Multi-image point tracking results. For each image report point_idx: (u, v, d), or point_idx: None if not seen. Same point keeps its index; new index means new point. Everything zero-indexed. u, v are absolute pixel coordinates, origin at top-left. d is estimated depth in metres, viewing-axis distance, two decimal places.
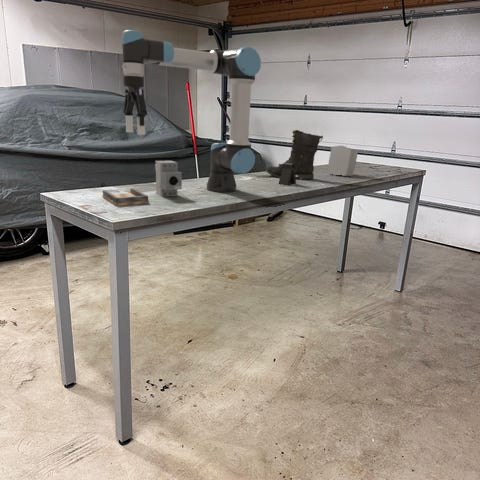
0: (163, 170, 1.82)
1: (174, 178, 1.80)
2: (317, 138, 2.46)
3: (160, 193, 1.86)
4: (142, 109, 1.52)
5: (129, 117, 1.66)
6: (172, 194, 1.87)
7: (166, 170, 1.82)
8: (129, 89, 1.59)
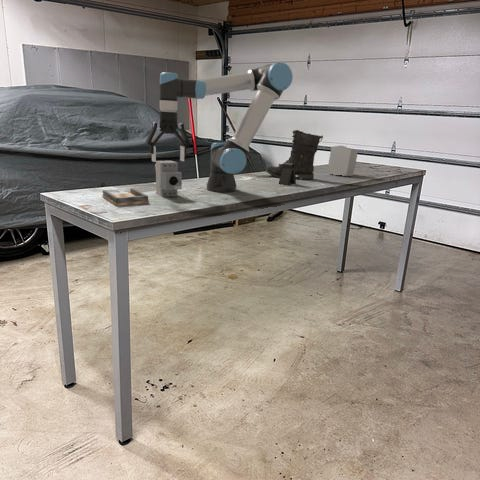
0: (163, 170, 1.82)
1: (174, 178, 1.80)
2: (317, 138, 2.46)
3: (160, 193, 1.86)
4: (147, 140, 1.75)
5: (181, 148, 1.84)
6: (172, 194, 1.87)
7: (166, 170, 1.82)
8: None
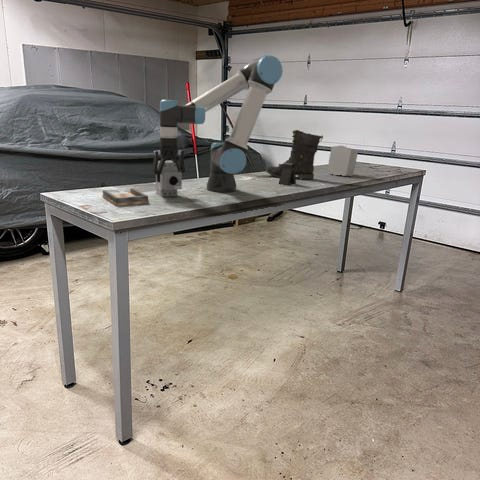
0: (163, 170, 1.82)
1: (174, 178, 1.80)
2: (317, 138, 2.46)
3: (160, 193, 1.86)
4: (153, 169, 1.80)
5: None
6: (172, 194, 1.87)
7: (166, 170, 1.82)
8: None
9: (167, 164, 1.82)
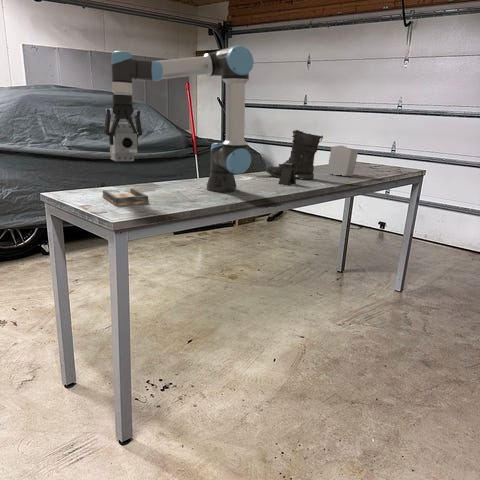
0: (116, 131, 1.64)
1: (128, 140, 1.63)
2: (317, 138, 2.46)
3: (114, 157, 1.68)
4: (105, 130, 1.62)
5: None
6: (128, 159, 1.69)
7: (120, 131, 1.65)
8: None
9: (121, 125, 1.64)
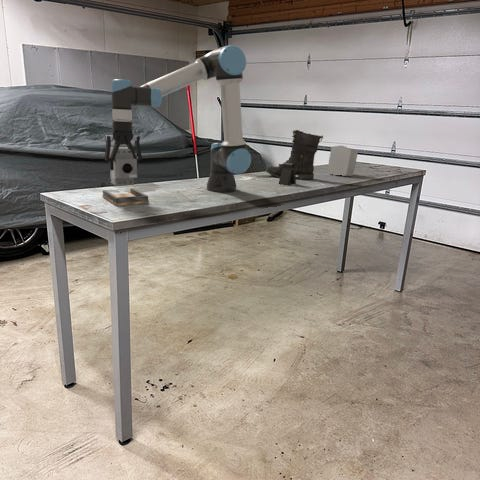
0: (116, 156, 1.67)
1: (128, 165, 1.65)
2: (317, 138, 2.46)
3: (114, 182, 1.71)
4: (105, 155, 1.65)
5: None
6: (128, 183, 1.72)
7: (120, 157, 1.67)
8: None
9: (121, 150, 1.67)
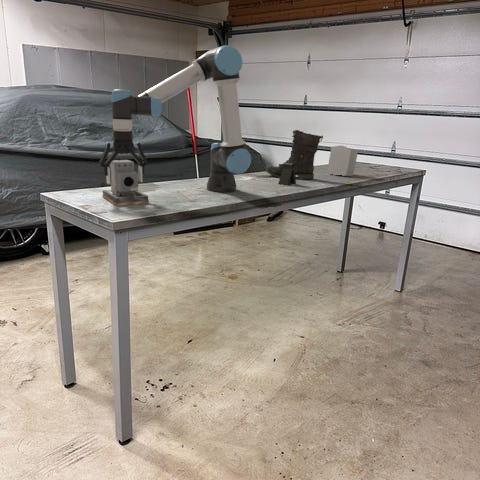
0: (117, 170, 1.68)
1: (129, 179, 1.67)
2: (317, 138, 2.46)
3: (115, 195, 1.73)
4: (100, 161, 1.65)
5: (139, 168, 1.74)
6: (129, 196, 1.74)
7: (121, 170, 1.69)
8: None
9: (122, 164, 1.68)
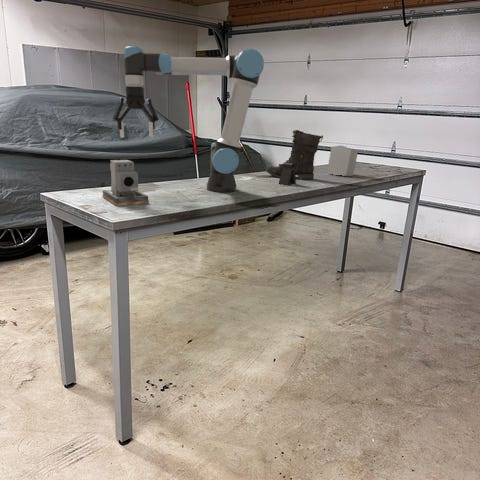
0: (117, 170, 1.68)
1: (129, 179, 1.67)
2: (317, 138, 2.46)
3: (115, 195, 1.73)
4: (114, 115, 1.75)
5: (150, 123, 1.85)
6: (129, 196, 1.74)
7: (121, 170, 1.69)
8: None
9: (122, 164, 1.68)
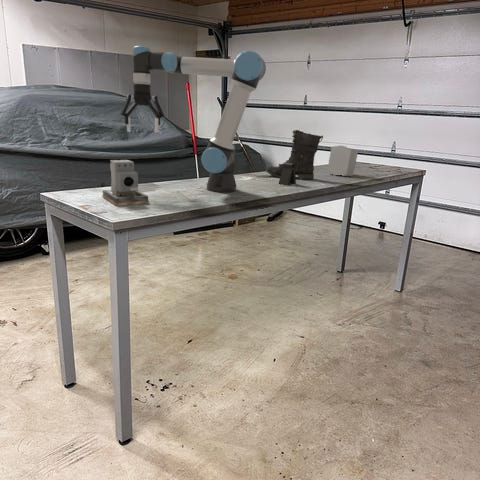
0: (117, 170, 1.68)
1: (129, 179, 1.67)
2: (317, 138, 2.46)
3: (115, 195, 1.73)
4: (122, 110, 1.85)
5: (155, 119, 1.95)
6: (129, 196, 1.74)
7: (121, 170, 1.69)
8: None
9: (122, 164, 1.68)
